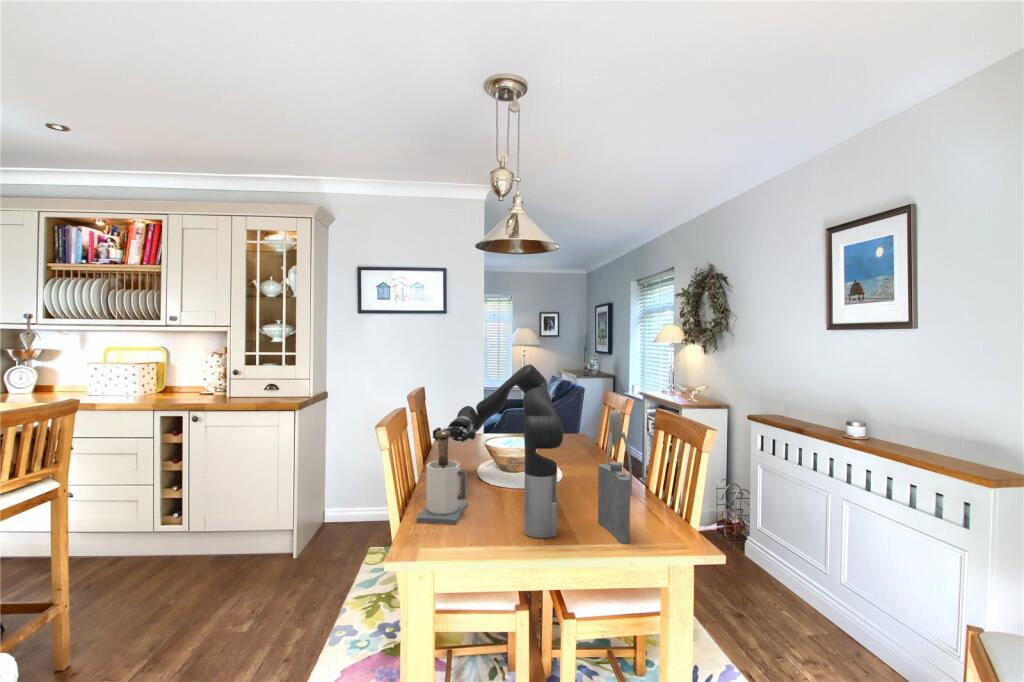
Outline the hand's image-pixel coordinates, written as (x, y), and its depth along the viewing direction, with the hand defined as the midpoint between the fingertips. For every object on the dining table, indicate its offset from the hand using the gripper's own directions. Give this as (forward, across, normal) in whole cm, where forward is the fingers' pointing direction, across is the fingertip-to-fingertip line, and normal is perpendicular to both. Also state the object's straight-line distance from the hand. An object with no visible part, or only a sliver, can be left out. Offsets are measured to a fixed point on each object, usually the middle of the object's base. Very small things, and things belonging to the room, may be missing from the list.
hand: (449, 438), depth 165 cm
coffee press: (+8, 0, +22) cm, 23 cm away
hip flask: (+15, +52, +22) cm, 59 cm away
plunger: (+9, 0, +19) cm, 21 cm away
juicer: (-17, +56, +22) cm, 62 cm away
